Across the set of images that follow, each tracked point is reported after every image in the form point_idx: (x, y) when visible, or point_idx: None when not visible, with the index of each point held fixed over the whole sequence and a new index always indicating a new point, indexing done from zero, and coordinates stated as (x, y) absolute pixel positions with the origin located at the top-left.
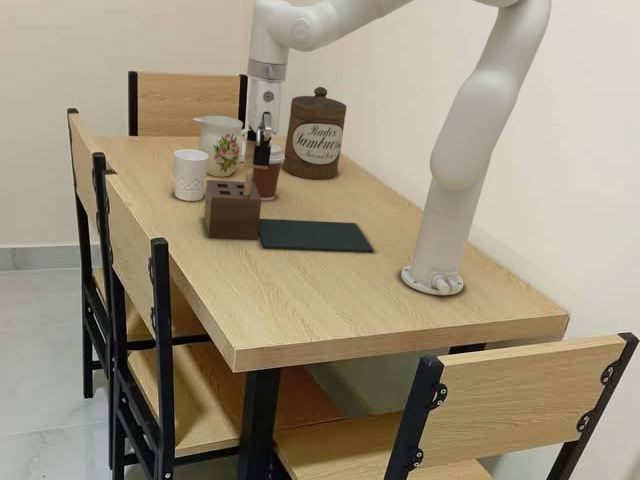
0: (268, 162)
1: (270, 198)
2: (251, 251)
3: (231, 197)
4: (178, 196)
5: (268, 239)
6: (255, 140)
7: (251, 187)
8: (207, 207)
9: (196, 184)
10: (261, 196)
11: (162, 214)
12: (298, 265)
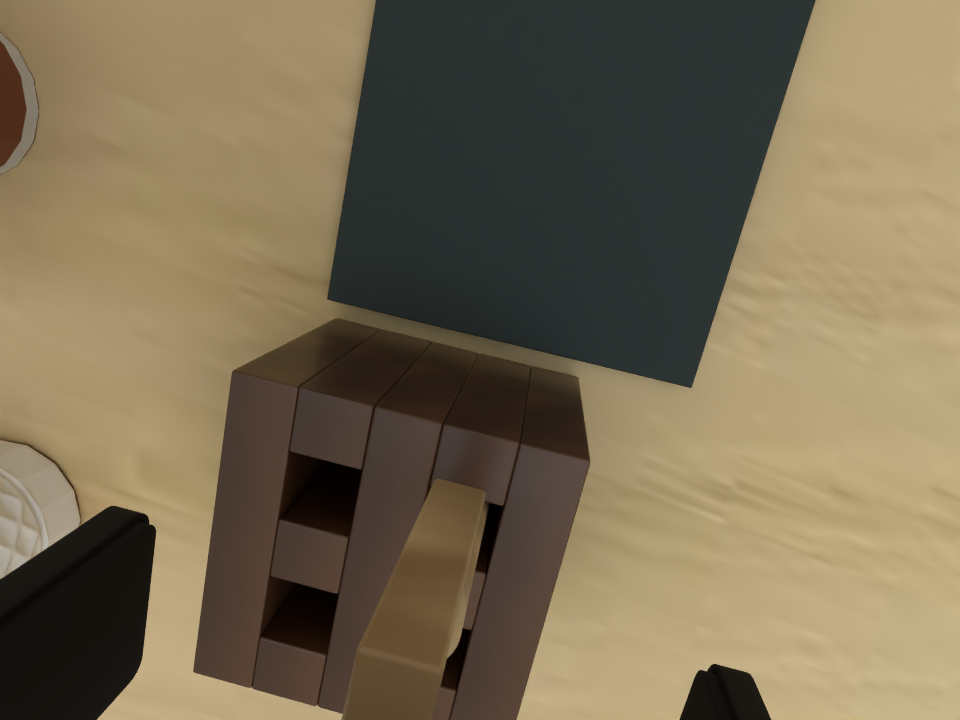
0: (755, 704)
1: (20, 65)
2: (707, 459)
3: (526, 648)
4: None
5: (618, 333)
6: (59, 676)
7: (337, 433)
8: None
9: (12, 544)
10: (18, 128)
11: (240, 687)
12: (937, 286)
